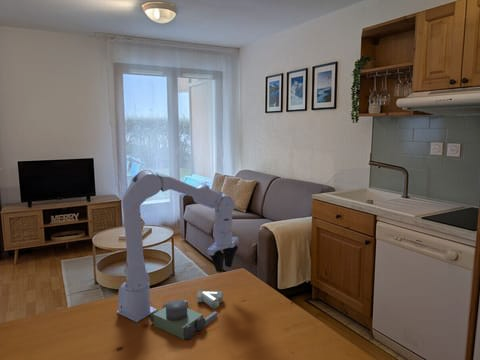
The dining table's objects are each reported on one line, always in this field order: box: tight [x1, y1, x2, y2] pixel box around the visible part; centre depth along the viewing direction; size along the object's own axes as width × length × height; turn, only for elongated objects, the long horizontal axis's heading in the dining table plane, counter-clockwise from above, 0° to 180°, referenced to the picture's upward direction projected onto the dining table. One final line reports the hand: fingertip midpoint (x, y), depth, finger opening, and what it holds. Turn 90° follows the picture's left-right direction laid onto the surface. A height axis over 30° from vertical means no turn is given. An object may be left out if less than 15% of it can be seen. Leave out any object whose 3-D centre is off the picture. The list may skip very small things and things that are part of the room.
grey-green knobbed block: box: [149, 299, 218, 340], centre depth 105 cm, size 14×14×6 cm
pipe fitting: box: [196, 290, 224, 310], centre depth 115 cm, size 8×4×7 cm
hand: (223, 269), depth 119 cm, fingers open, 5 cm apart
